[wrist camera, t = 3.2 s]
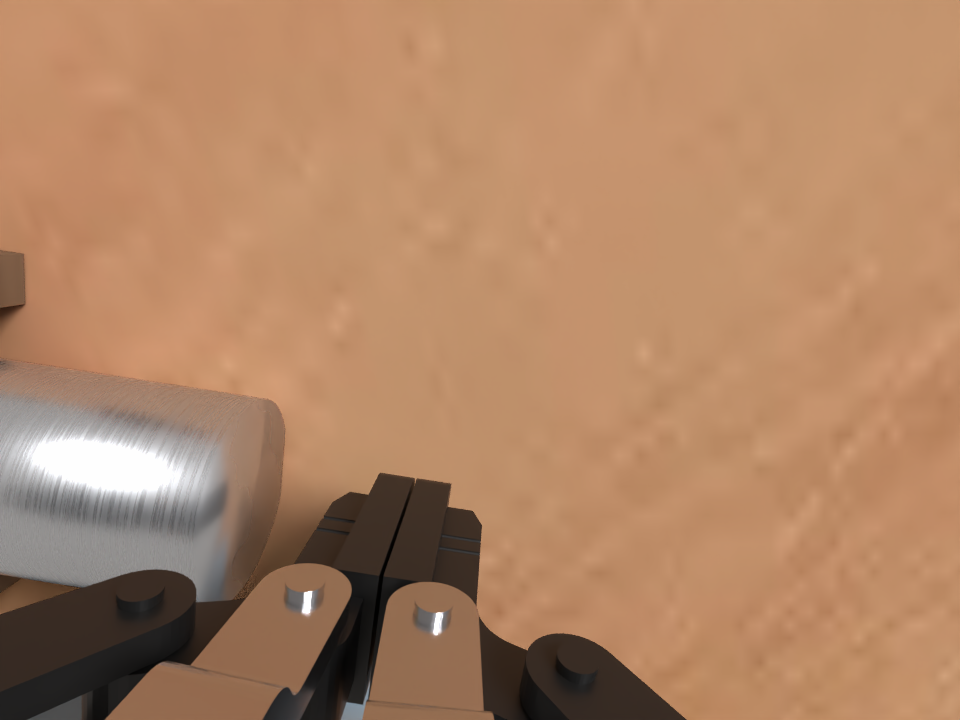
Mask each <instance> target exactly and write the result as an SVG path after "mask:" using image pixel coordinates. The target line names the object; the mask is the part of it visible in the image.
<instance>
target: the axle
mask: <svg viewBox="0 0 960 720" xmlns="http://www.w3.org/2000/svg"><path fill="white" fill-rule="evenodd" d="M284 441H285V426H284V421H283V417H282V414H281V412H280V410H279V408H278V407H277V405H276V404H275V403H274V402H273V401H271V400H268V399H264V398H257V397H250V396H244V395H237V394H231V393H224V392H218V391H211V390H205V389H198V388H192V387H185V386H179V385H172V384H166V383H159V382H153V381H146V380H140V379H133V378H126V377H120V376H113V375H107V374H100V373H94V372H87V371H81V370H74V369H68V368H61V367H55V366H48V365H42V364H35V363H29V362H22V361H16V360H9V359H2V358H0V575H6V576H12V577H18V578H25V579H31V580H37V581H43V582H49V583H56V584H62V585H68V586H74V587H80V588H83V587H86V586H89V585H92V584H95V583H99V582H102V581H105V580H108V579H111V578H114V577H117V576H120V575H123V574H127V573H130V572H135V571H141V570H153V569H160V570H169V571H175V572H178V573H181V574H183V575H185V576H187V577H188V578H189V579H191V580H192V581H193V583H194V584H195V587H196V602H211V601H227V600H232V599H233V598H234V597H235V596H236V595H237V594H238V593H239V592H240V591H241V589H242V588H243V587H244V585H245V584H246V582H247V581H248V579H249V578H250V576H251V574H252V572H253V571H254V569H255V567H256V565H257V563H258V561H259V559H260V557H261V555H262V552H263V550H264V548H265V545H266V543H267V540H268V537H269V535H270V532H271V529H272V526H273V523H274V519H275V516H276V512H277V509H278V505H279V500H280V496H281V483H282V469H283V455H284Z"/></svg>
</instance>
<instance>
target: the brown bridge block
mask: <svg viewBox="0 0 960 720" xmlns="http://www.w3.org/2000/svg"><path fill="white" fill-rule="evenodd" d="M22 304H25V283H24V254H21V253H15V252H8V251H1V250H0V308H2V307H8V306H15V305H22ZM19 579H21V578H18V577H12V576H6V575H0V593H1V592H2V591H4V590H5V589H7V588H8V587H10V586H11V585H12V584H14V583H15V582H17V581H18V580H19Z"/></svg>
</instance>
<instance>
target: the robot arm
mask: <svg viewBox="0 0 960 720" xmlns="http://www.w3.org/2000/svg"><path fill="white" fill-rule="evenodd" d="M414 485H415V486H414ZM450 490H451V484H450V483H443V482H437V481H430V480H424V479H417V480H416V483H415V478H410V477H404V476H397V475H391V474H385V473H380V474H379V475H378V477H377V479H376V481H375V483H374V485H373V487H372V489H371V491H370V493H369V495H366V494H360V493H353V492H349V493H348V494H346V495H344V496H342V497H341V498H339V499H337V500H336V501H334V502H332V504H331V506H330V507H329V509H328V510H327V512H326V514H325V515H324V519H322V520H321V522H320V523H319V525H318V527H317V530H315V531H314V533H313V535H312V536H311V538H310V539H309V541H308V543H307V544H306V546H305V547H304V549H303V551H302V552H301V554H300V555H299V557H298V559H297V560H296V562H295V563H294V564H293V565H289V566H285V567H282V568H279V569H277V570H275V571H273V572H271V573H269V574H268V575H266V576H265V577H264V578H263V579H262V580H261V581H260V582H259V583H258V585H257V586H256V587H255V588H254V589H253V591H252V592H251V593H250V594H249V595H248V597H247V598H243V599H237V600H227V601H211V602H196V587H195V584H194V583H193V581H192V580H191V579H189V578H188V577H187V576H185V575H183V574H181V573H178V572H175V571H169V570H160V569H153V570H141V571H135V572H130V573H127V574H123V575H120V576H117V577H114V578H111V579H108V580H105V581H102V582H99V583H95V584H92V585H89V586H86V587H83V588H80V589H77V590H74V591H71V592H68V593H65V594H62V595H59V596H56V597H53V598H50V599H46V600H43V601H40V602H37V603H34V604H31V605H28V606H25V607H22V608H19V609H16V610H13V611H10V612H7V613H4V614H0V720H28V719H30V718H32V717H34V716H37V715H39V714H41V713H43V712H46V711H48V710H50V709H52V708H54V707H57V706H59V705H61V704H63V703H66V702H68V701H70V700H72V699H75V698H77V697H79V696H81V695H82V720H341V718H342V715H343V712H344V709H345V706H346V703H347V702H348V703H355V704H361V705H363V703H364V700H365V696H366V693H367V689H368V686H369V683H370V687H369V695H368V700H367V701H366V704H365V709H364V713H363V718H362V720H686V719H685V718H684V717H683V716H682V715H680V714H679V713H678V712H677V711H676V710H675V709H674V708H672V707H671V706H670V705H669V704H668V703H667V702H666V701H664V700H663V699H662V698H661V697H660V696H659V695H658V694H656V693H655V692H654V691H653V690H652V689H651V688H650V687H648V686H647V685H646V684H645V683H644V682H643V681H641V680H640V679H639V678H638V677H637V676H636V675H635V674H633V673H632V672H631V671H630V670H629V669H628V668H627V667H625V666H624V665H623V664H622V663H621V662H620V661H619V660H617V659H616V658H615V657H614V656H613V655H612V654H611V653H609V652H608V651H607V650H606V649H604V648H603V647H601V646H600V645H598V644H596V643H595V642H592V641H590V640H588V639H585V638H583V637H580V636H576V635H571V634H550V635H546V636H543V637H541V638H539V639H537V640H536V641H534V642H533V643H532V644H531V646H530V647H529V648H528V651H527V650H525V649H523V648H520V647H518V646H515V645H513V644H511V643H509V642H506V641H504V640H503V639H501V638H499V637H498V636H496V635H495V634H494V633H492V632H491V631H490V630H489V629H488V628H487V627H486V626H485V625H484V623H483V622H482V621H481V619H480V617H479V614H478V609H477V606H476V602H477V587H478V573H479V559H480V544H481V543H480V542H481V530H482V525H481V523H480V522H479V520H478V519H477V517H476V515H475V514H474V512H473V511H470V510H463V509H457V508H451V507H448V504H449V497H450Z"/></svg>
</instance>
